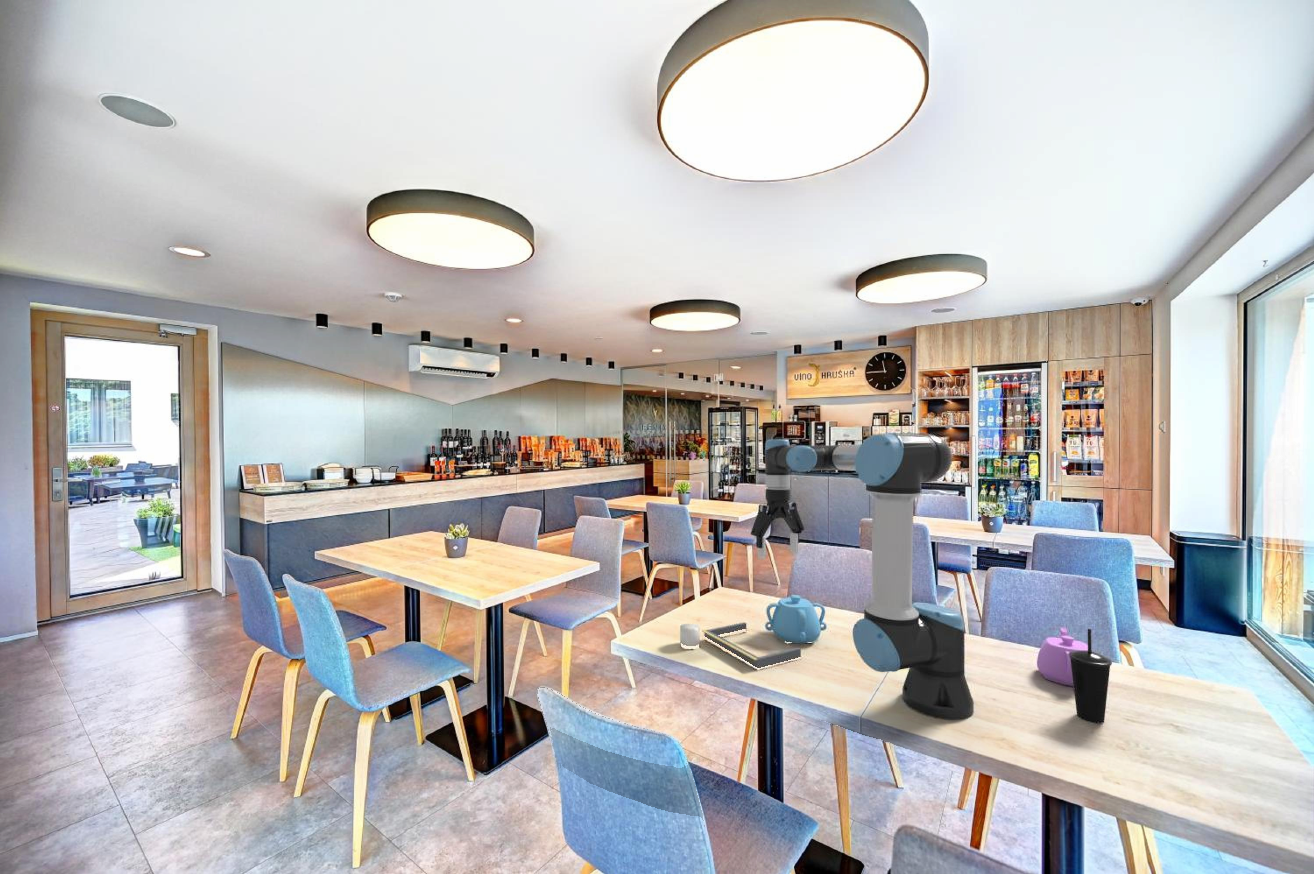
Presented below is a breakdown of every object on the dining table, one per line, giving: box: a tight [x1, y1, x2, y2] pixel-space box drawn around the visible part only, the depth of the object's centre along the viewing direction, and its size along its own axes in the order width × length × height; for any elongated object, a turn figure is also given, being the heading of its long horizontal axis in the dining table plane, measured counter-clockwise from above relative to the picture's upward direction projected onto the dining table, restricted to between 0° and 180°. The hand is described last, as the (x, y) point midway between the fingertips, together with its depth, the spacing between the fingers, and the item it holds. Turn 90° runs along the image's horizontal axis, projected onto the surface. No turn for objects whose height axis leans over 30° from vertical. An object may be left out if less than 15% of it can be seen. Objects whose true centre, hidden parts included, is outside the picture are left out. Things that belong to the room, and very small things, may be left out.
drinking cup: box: [1069, 628, 1113, 724], centre depth 122 cm, size 8×8×20 cm
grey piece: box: [701, 622, 802, 668], centre depth 163 cm, size 26×17×3 cm, turn 29°
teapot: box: [1036, 626, 1088, 687], centre depth 142 cm, size 13×20×11 cm
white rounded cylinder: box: [679, 623, 701, 646], centre depth 167 cm, size 7×6×6 cm
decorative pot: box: [764, 594, 827, 644], centre depth 172 cm, size 16×16×14 cm
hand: (778, 555), depth 169 cm, fingers open, 13 cm apart
